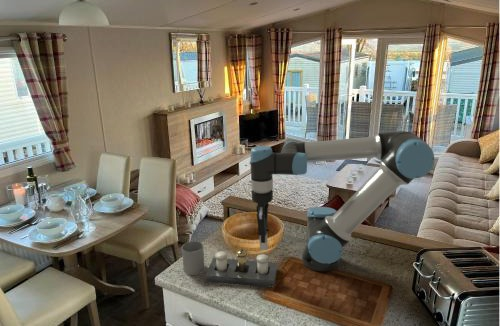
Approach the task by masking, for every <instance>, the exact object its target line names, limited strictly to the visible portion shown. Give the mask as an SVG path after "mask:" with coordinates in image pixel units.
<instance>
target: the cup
mask: <svg viewBox="0 0 500 326" xmlns="http://www.w3.org/2000/svg"><path fill="white" fill-rule="evenodd" d="M204 252H205V251H204V244H203V243H202V242H201V241H197V240H196V241H195V240H194V241H193V240H192V241H187V242H185V243H183V245H182V246H181V254H182V255H181V257H182V267H183V273H185V275H186V274H187V275H190V276H191V275H192V276H194V275H199V274H201V273H203V272H204V270H205V268H206V267H205V256H204V255H205V253H204Z"/></svg>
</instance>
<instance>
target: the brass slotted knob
mask: <svg viewBox="0 0 500 326" xmlns="http://www.w3.org/2000/svg"><path fill="white" fill-rule="evenodd" d="M235 252H236V254H235V255H236V257H237V260H238V270H241V271H243V270H246V260H247V255H248V250H247V249H245V248H239V249H237V250H236V251H235Z"/></svg>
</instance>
